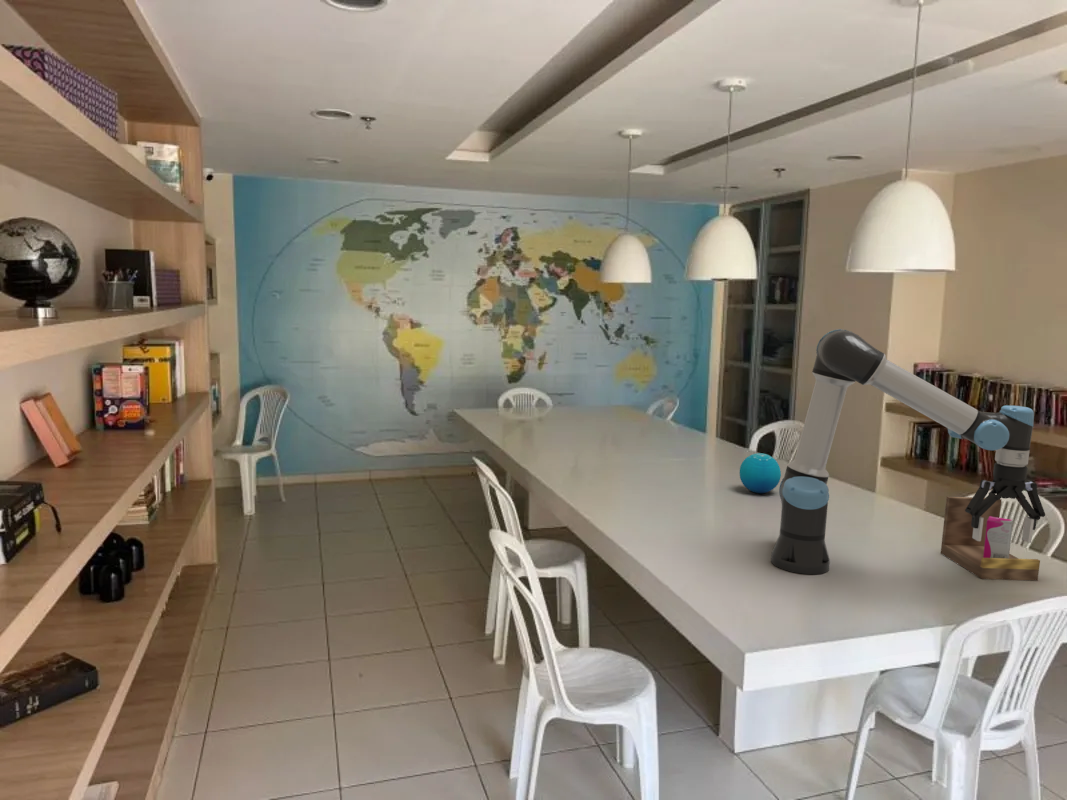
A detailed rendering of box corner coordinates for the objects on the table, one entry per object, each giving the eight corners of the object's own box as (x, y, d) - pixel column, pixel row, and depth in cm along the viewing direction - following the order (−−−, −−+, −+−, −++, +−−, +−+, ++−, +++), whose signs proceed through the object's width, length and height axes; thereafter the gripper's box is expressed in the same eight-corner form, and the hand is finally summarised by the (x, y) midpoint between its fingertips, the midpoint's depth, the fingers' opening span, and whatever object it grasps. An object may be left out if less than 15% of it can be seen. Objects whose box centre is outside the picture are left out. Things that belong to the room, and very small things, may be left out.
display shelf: (981, 578, 198) (988, 517, 195) (940, 553, 217) (946, 496, 215) (1037, 580, 198) (1045, 518, 195) (991, 554, 217) (998, 498, 215)
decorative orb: (774, 488, 287) (777, 450, 285) (783, 498, 272) (786, 458, 270) (734, 486, 289) (737, 448, 287) (741, 496, 274) (744, 456, 272)
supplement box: (1009, 559, 204) (1013, 519, 203) (1007, 565, 200) (1012, 524, 198) (984, 554, 208) (989, 515, 206) (982, 560, 203) (986, 520, 201)
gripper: (972, 465, 195) (963, 543, 197) (1067, 468, 195) (1056, 546, 198) (956, 459, 202) (948, 534, 205) (1047, 462, 202) (1037, 537, 205)
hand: (1001, 540), depth 201 cm, fingers open, 13 cm apart
